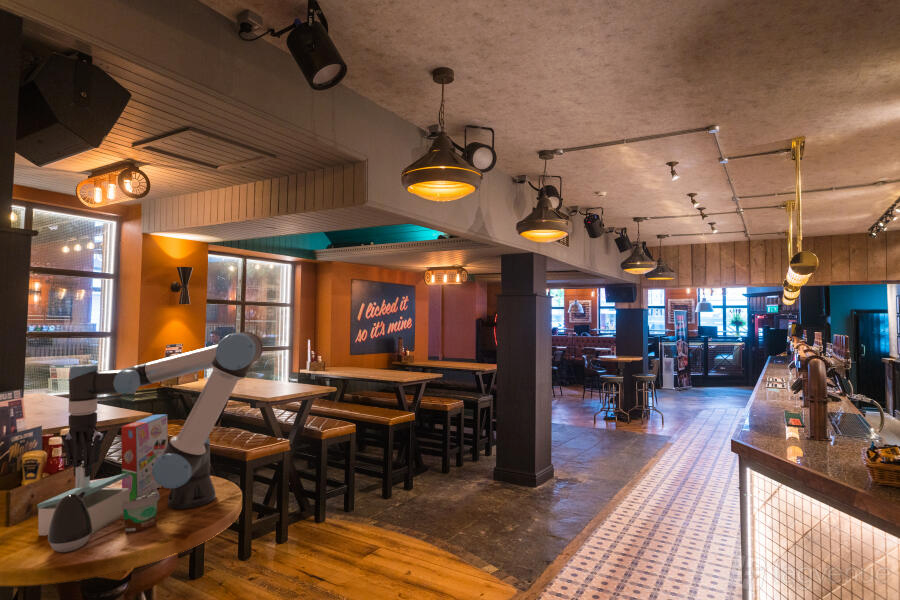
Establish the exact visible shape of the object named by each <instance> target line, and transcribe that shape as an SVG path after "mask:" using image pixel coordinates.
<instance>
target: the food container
mask: <svg viewBox="0 0 900 600" xmlns="http://www.w3.org/2000/svg"><path fill="white" fill-rule="evenodd" d="M158 490H159V489H157V490H155V489H151V492H150V493H148V494H145V495H142V496H139V497H137V498H135V499H134V500H132V501H130V502H123V504H122V508H121V509H123V512H124V516H123V519H124V520H123V521H124V532H125V534H128V535H129V534H138V532H139V533H143V532H146V531H148V529H149V530H151V529H152V527H153V528H154V527H155V526H156V525H157V524H156V522H157V513H158V512H157V511H158V501H160V499H161V496H160V492H159V491H158ZM155 524H156V525H155ZM150 528H151V529H150ZM145 530H146V531H145ZM142 531H143V532H142Z"/></svg>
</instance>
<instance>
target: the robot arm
mask: <svg viewBox="0 0 900 600" xmlns="http://www.w3.org/2000/svg"><path fill="white" fill-rule="evenodd" d="M263 349H264V345H263V342H262V340H261V338H260V337H259V335H257V334H256V333H253V332H251V331H242V332H233V333H229V334H227V335H226V336H224V337H223V338H222V339H220V341H219V342H218V344H214V345H211V346H207V347H203V348H199V349H195V350H192V351H191V350H190V351H188V352H187V351H186V352H183V353H180V354H175V355H172V356H167V357H164V358H160V359H157V360H152V361H149V362H145V363H141V364H136V365H132V366H130V367H125V368H120V369H114V370H113V369H112V370H99V368H98V365H97V364H92V363H91V364H89V363H87V364H75V365H72V366H70V368H69V372H68V380H67V381H68V414H69V415H68V427H69V430H68V432H67V433H65V434H62V435H61V436H60V438H61V440H62V442H63V446H64V452H65V459H66V464H67V465H68V466H72V467H73V477H74V478H75V483H74V484H75V485H74V486H75V488H79V487H81V488H85V487H87V486H89V485H90V482H91V481H90V479H91V476H92V474H93V473H92V471H93V465H95V464H98V463H99V460H100V453H101V447H102V441H103V439H104V438H105V435H106V434H105V433H104V432H103V433H100V432H99V431H98V429H97V423H98V413H97V410H98V395H102V394H103V395H104V394H105V395H106V394H108V395H109V394H111V395H112V394H123V395H125V394H131V393H135V392H136V391H137V389H139V387H144V386H147V385H152V384H154V383H158V382H163V381H166V380H170V379H174V378H177V377H182V376H185V375H190V374H193V373H197V372H201V371H205V370H209V369H211V368H212V371H211V373H210V375H209V377H208V379H207V381H206V382H205V385H204V386H203V389H202V390H201V391H200V394H199V396H198V398H197V400H196V402H194V403H195V404H194V405H193V407H192V409H191V411H190V412H189V414H188V416H187V418H186V420H185V422H184V424H183V426H182V427H181V430H180V431H179V433H178V434H177V435H176V436H173V437H171V438H170V439H169V440H168V445H167V447H166V449H165V451H164V452H163V454H162V455H161V456H160V457H158V458H157V459H156V461H155V462H154V464H153V467H152V475H153V477H154V480H155V481H156V482H157V483H158V484H159V485H160V486H162V487H161V488H165V489H170V491H169V494H168V497H167V507H168V506H169V507H168V508H170V507H171V508H170V509H173V508H174V509H173V510H189V509H193V508H199V507H203V506H205V505H209V504H210V503H212V502H214V500H216V489H215V485H214V484H213V482H212V478H211V449H210V448H211V443H210V437H209V436H210V434H211V432H212V430H213V429H214V427H215V425H216V422H217V421H218V420H219V418H220V416H221V414H222V412H223V409H224V408H225V406H226V404H227V402H228V401H229V399H230V398H231V397H230V396H231V395H232V393H233V391H234V389H235V386H236V385H237V384H238V381H240V380H243V379H245V378H246V376H247V374H248V372H249V371H250V369H251V366H253V364H254V363H255V362H257V361H258V360H259V359H260V357H261V356H262V354H263V351H264V350H263Z"/></svg>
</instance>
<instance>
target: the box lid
mask: <svg viewBox="0 0 900 600" xmlns="http://www.w3.org/2000/svg"><path fill="white" fill-rule="evenodd" d="M128 476H129V472H128V473H124V474H122V473H120V474H117V475H114V476H110V477H106V478H102V479H99V480H98V479H97V480H95V481H90V485H89V486H87V487H85V488H81V487H79V488H72V489H70V490H67V491H64V492H63V493H61V494H58V495H56V496H53V497H51V498H49V499H46V500H44V501H42V502H40V503H38V504H36V506H37V507H36V508H37V509H39V508H42V507H46V506H49V505H53V504H57V503H59V502H60V500H61V499H62V498H63V497H65V496H67V495H70V494H75V495H79V494H80V493H81V492H85V495H84V496H88V495H90V494H92V493H94V492H96V491H98V490H100V489H103V488H107V487H109V486H111V485H114V484H115V483H117V482H120V481H122V479H124V478H126V477H128ZM84 496H83V497H84Z"/></svg>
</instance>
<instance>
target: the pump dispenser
mask: <svg viewBox="0 0 900 600" xmlns="http://www.w3.org/2000/svg"><path fill="white" fill-rule="evenodd" d="M84 495H85V492H81V493H80V494H79V495H75V494H70V495H67V496H65V497H63V498H62V499H61V500H60V502H59V503H58V505H57V506H56V508H55V511H54V513H53V516H52V519H51V523H50V527H49V532H48V536H47V542H48V543H49V546H50V547H51V549H53V550H54V552H55V551H56V552H57V553H69V552H73V551H76V550H78V549H80V548H82V547H83V546H84V545H85V544H86V543H88V541H89V539H90V536H91V535H92V534H91V532H92V523H91V518H90V514H89V511H88V509H87V506H86V504H85V502H84V501H83V499H82V497H83V496H84ZM90 534H91V535H90Z"/></svg>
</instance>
